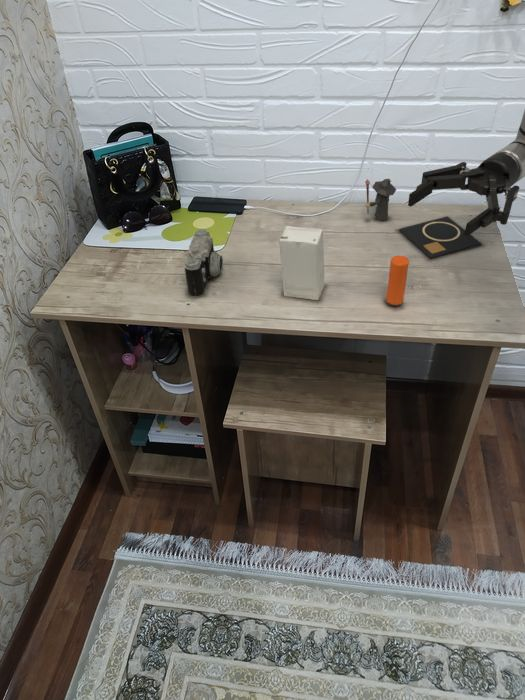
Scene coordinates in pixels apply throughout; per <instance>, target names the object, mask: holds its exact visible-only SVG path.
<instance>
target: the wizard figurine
mask: <svg viewBox="0 0 525 700" xmlns="http://www.w3.org/2000/svg"><path fill="white" fill-rule="evenodd" d="M391 182H392V180H391V179H390V178H384V179H383V180H380V181H379V180H377V181H375V182H374V183H373V185H372V189H373V190H374V191H375V193H376V195H375V199H374V201H370V202H369V200H370V197H369V196H370V184H371V183H370V180H369V179H366V180H365V182H364V183H365V186H366V188H365V189H366V204H365V208H366V209H367V211H366V212H367V213H369V208H372V207H375V206H376V208H375V211H374V215H373V216H374V219H375V220H377V221H387V220H388V218H389V202H390V196H393V195H394V194H395V192H396V191H397V188H396V187H395V186H394V185H393V183H391Z"/></svg>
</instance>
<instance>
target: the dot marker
mask: <svg viewBox="0 0 525 700" xmlns="http://www.w3.org/2000/svg"><path fill="white" fill-rule="evenodd" d="M409 264H410V259H409V258H408V257H407V256H404V255H394V256H392V257H391V259H390V264H389V272H388V279H387V288H386V297H385V301H386V303H387V304H388V306H390V307H391V308H398V307H400V306H401V304H403V302H404V300H405V292H406V285H407V280H408V278H407V277H408V271H409Z"/></svg>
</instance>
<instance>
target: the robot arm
mask: <svg viewBox="0 0 525 700" xmlns="http://www.w3.org/2000/svg"><path fill="white" fill-rule="evenodd" d="M467 165H468V163H467V162H466V161H462V162H459V163H457V164H456V165H455V164H454V165H451V166H446V167H441V168H436V169H433V170H428V171H424V172H423V173H422V176H421V182H420V184H418V185H417V186H416V188H415V190H413V191H412V192H410V193H409V195H408V201H407V206H408V207H410V208H411V207H414V206H415V205H416V204H418V203H419V202H420V201H422V200H424V199H425V198H427V197H428V196H430V195H431V194H433V191H438V190H439V191H440V190H452V189H460V190H461V191H467V190H468V191H471V192H474V193H475V194H478V195H479V196H481V197H482V196H485V200H486V203H487V208H486V209H484V210H483V211H481V212H480V213H478V215H476V216H475V217H473V218H472V219H470V220H469V221H467V222H466V225H465V229H464V230H465V233H464V235H465V236H467V237H468V236H469V235H472V234H473V233H475V232H476V231H477V230H479V229H481V228H482V229H485V228H487V227H489V226H490V225H491V224H493V223H496V222H499V224H501V225H503V226H505V225H507V224H508V221H509V217H510V213H511V210H512V206H513V202H515V201H516V200H517V198H518V194H519V191H520V186H519V185H515V184H516V183H518V182H519V181H521V180H522V179H523V178H525V109H524V110H523V114H522V118H521V121H520V124H519V128H518V130H517V133H516V137H515V139H514V140H512V142H510V143H509V144H507V145H505V146H504V147H502V148H500V149H499V150H498V151H496V152H495V153H494V154H492V155H491V156H489V157H487V158H486V159H484V160H483V161H482V162H481V163H480V164H479V165H478V166H477V167H474V168H469V167H467ZM466 181H467V182H466ZM502 194H504V197H505V198H504V199H505V203H504V207H503V210H502V211H500V210H501V206H500V205H499V198H498V195H502Z"/></svg>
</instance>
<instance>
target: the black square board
mask: <svg viewBox="0 0 525 700" xmlns="http://www.w3.org/2000/svg"><path fill="white" fill-rule="evenodd" d="M398 231H399V232H400V233H401V234H402V235H403V236H404V237H405V238H406V239H407V240H408V241H410V242H411V244H413V245H414V246H415V247H416V248H417V249H418V250H419V251H421V252H422V253H423V254H424V255H425V256H426V257H427V258H428V259H430V260H432V259H436V258H440V257H443V256H447V255H451V254H454V253H458V252H462V251H465V250H469V249H472V248H476V247H480V246H481V245H482V242H480V241H479V240H478V239H477V238H476V237H474V236H473V235H472V234H470V235H469V236H468V237H467V236H465V235H464V233H465V229H464V228H463V227H462V226H460V225H459V224H458V223H457V222H455V221H454V220H452V218H450V216H444V217H440V218H437V219H433V220H429V221H424V222H421V223H416V224H413V225H409V226H405V227H402V228H399V229H398Z"/></svg>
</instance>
